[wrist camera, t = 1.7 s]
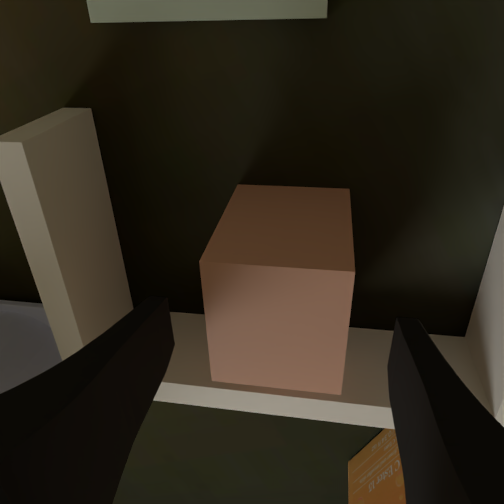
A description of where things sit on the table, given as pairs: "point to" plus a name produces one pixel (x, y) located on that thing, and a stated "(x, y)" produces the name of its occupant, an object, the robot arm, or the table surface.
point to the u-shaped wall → (187, 324)
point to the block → (280, 288)
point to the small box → (377, 472)
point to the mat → (203, 10)
